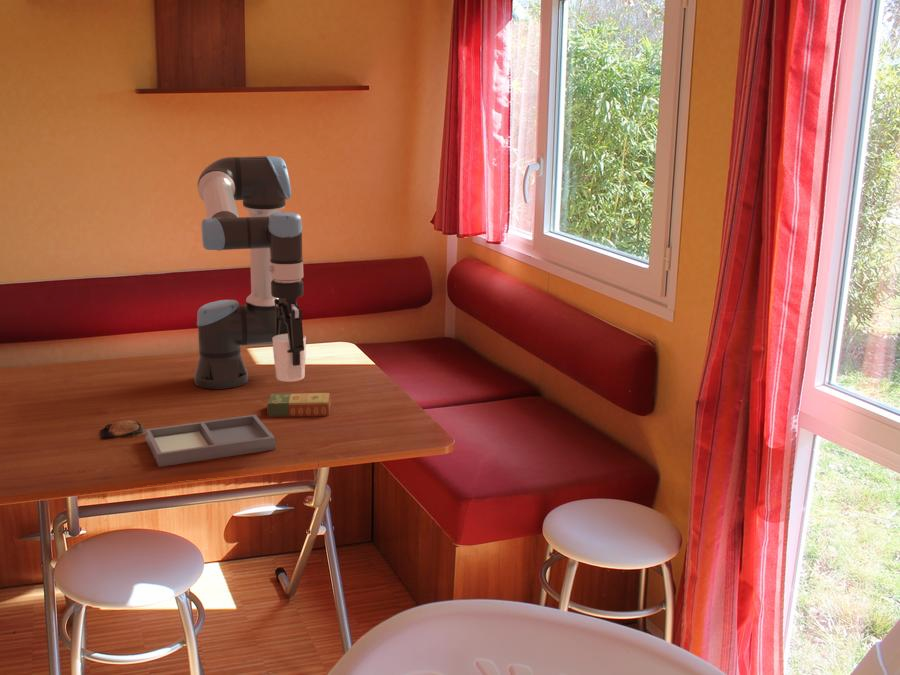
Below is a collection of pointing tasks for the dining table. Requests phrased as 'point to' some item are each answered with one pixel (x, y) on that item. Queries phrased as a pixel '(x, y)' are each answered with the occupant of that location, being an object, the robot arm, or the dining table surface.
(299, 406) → the carton
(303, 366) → the white cup
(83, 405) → the dining table surface
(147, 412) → the dining table surface
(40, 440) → the dining table surface
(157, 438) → the gray divided tray
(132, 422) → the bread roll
